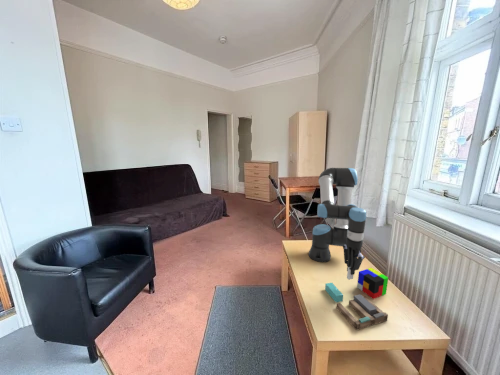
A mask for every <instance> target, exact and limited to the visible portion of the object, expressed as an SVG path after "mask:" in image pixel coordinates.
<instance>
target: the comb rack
mask: <svg viewBox="0 0 500 375" xmlns="http://www.w3.org/2000/svg"><path fill="white" fill-rule="evenodd" d="M363 297H364V298H365V299H366V300H367V301H369V302H370V303H371V304H372V305H373V306H374V307H375V308H376V309H377V311H376V314H374V315H373V316H371V315H369V314H368V313H367V312H366V311H365V310H364V309H363V308H362V307H361V306H360V305H359V304H358V303H357V302H355V301H354V300H353V299H349V300H348V306H349V307H350V308H351V309H352V310H353V311H354V312H355V313H356V314H357V315H358V316H360V317H361V318H358V320H357V318H355V316H354V315H352V314H351V313H350V311H348V309H347V308H346V307H345V306H344V305H343V304H342V303H341V302H336V307H335V308H336V310H337V311H339V313H340V314H341V315H342V317H344V318H345V319H346V320H347V322H348V323H350V324H351V326H352V327H353V328H354V329H355V331H358V330H361V329H364V328H367V327H371V326H373V325H377V324H380V323H383V322H386V321H388V318H389V315H388V313H387V312H384V311H383V310H382V309H381V308H380V307H378V306H377V305H376V304H375V303H373V302H372V301H371V299H369V298H367V296H363Z"/></svg>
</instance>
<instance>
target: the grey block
mask: <svg viewBox="0 0 500 375" xmlns="http://www.w3.org/2000/svg"><path fill="white" fill-rule="evenodd" d="M352 300H354V301H355V302H357V303H358V304H359V305H360V306H361V307H362V308H363V309H364V310H365V311H366V312H367V313H368V314H369V315H371V316H373V315H374V314H376V311H377V309H376V308H375V307H374V306H373V305H372V304H371V303H370V302H369V301H367V300H366V299H365V298H364V296H363V295H362V294H356V295H353V299H352Z"/></svg>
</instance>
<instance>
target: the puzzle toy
mask: <svg viewBox="0 0 500 375" xmlns="http://www.w3.org/2000/svg"><path fill="white" fill-rule="evenodd" d="M388 284H389V277H388V276H386V275H385V274H383V273H382V272H379V271H378V270H376V269H375V268H372V267H369V268H366V269H362V270H360V271H358V276H357V282H356V285H357V286H356V288H357V289H359V290H360V291H361V292H362V293H364V294H366V295H367V296H368V297H370V298H371V299H372V300H375V299H377V298H379V297H381V296H384V295H386V294H387V291H388V289H387V288H388Z"/></svg>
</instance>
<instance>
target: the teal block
mask: <svg viewBox="0 0 500 375" xmlns="http://www.w3.org/2000/svg"><path fill="white" fill-rule="evenodd" d="M324 284H325V287H324V290H325V291H326V293H327V294H328V295H329V296H330V297H331V299H332V300H333V301H334V302H335V303H341V302H344V301H343V300H344V293H342V292H341V291H340V290H339V288H338V287H337V286H336V285H335V284H334V283H333V282H327V283H324Z"/></svg>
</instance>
